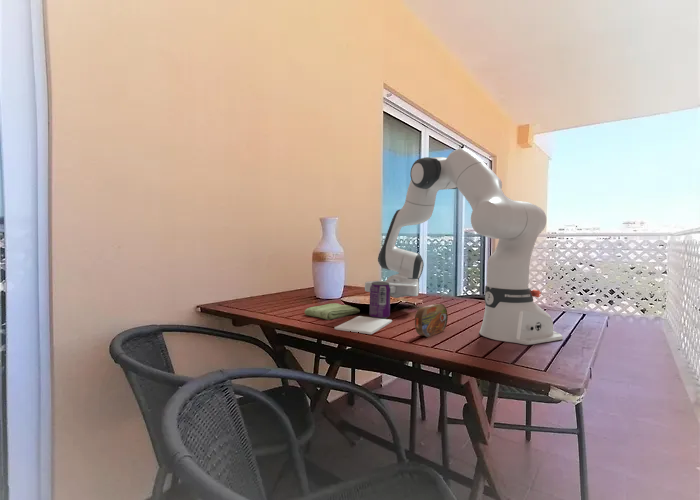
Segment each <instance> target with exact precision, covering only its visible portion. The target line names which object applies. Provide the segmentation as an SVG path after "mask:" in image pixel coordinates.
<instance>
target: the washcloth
mask: <svg viewBox="0 0 700 500" xmlns="http://www.w3.org/2000/svg"><path fill="white" fill-rule="evenodd" d="M360 311H361V310H360V309H359V308H357V307H354V306H351V305H348V304H344V305H343V304H341V303H338V302H337V303H335V302H333V303H325V304H322V305H317V306H311V307H308V308H306V309H305V310H304V314H305V315H306V316H308V317H309V316H310V317H314V318H319V319H323V320H327V321H331V320H336V319H339V318H344V317H348V316H350V315H355V314H358V313H360Z"/></svg>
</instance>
